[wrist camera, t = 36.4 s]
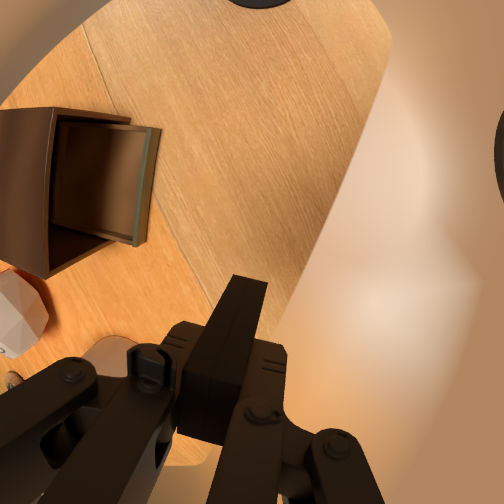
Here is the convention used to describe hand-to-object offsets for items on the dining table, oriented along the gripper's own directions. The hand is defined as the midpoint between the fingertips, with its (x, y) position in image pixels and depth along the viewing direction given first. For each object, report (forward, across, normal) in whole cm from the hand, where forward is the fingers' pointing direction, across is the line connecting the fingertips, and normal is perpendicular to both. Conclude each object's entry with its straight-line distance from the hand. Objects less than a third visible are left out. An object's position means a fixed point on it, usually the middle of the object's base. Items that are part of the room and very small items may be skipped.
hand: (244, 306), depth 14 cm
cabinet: (+24, -29, 0) cm, 38 cm away
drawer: (+24, -24, 0) cm, 35 cm away
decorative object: (+25, -40, -24) cm, 53 cm away
